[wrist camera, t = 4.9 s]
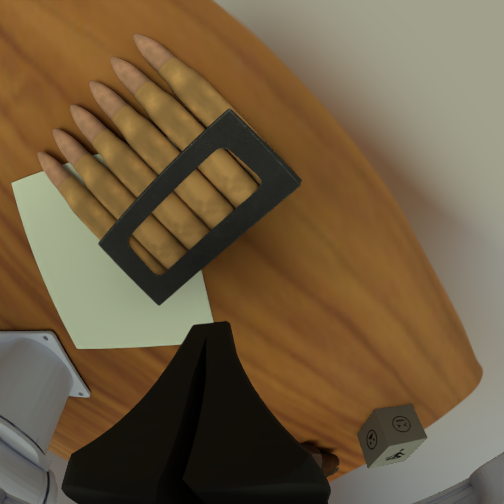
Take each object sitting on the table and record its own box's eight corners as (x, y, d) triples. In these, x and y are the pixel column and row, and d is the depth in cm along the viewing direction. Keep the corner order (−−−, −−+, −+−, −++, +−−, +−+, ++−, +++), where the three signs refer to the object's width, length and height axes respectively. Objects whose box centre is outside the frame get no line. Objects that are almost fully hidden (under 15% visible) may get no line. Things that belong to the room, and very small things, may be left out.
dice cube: (356, 433, 30) (367, 468, 25) (374, 408, 27) (388, 446, 23) (392, 428, 30) (404, 460, 26) (411, 403, 28) (427, 437, 24)
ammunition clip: (298, 176, 17) (152, 27, 13) (304, 182, 15) (141, 17, 11) (165, 291, 19) (39, 161, 16) (158, 306, 18) (22, 166, 14)
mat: (77, 347, 22) (77, 348, 22) (13, 182, 16) (11, 183, 16) (218, 338, 22) (218, 340, 22) (175, 135, 16) (174, 135, 16)
